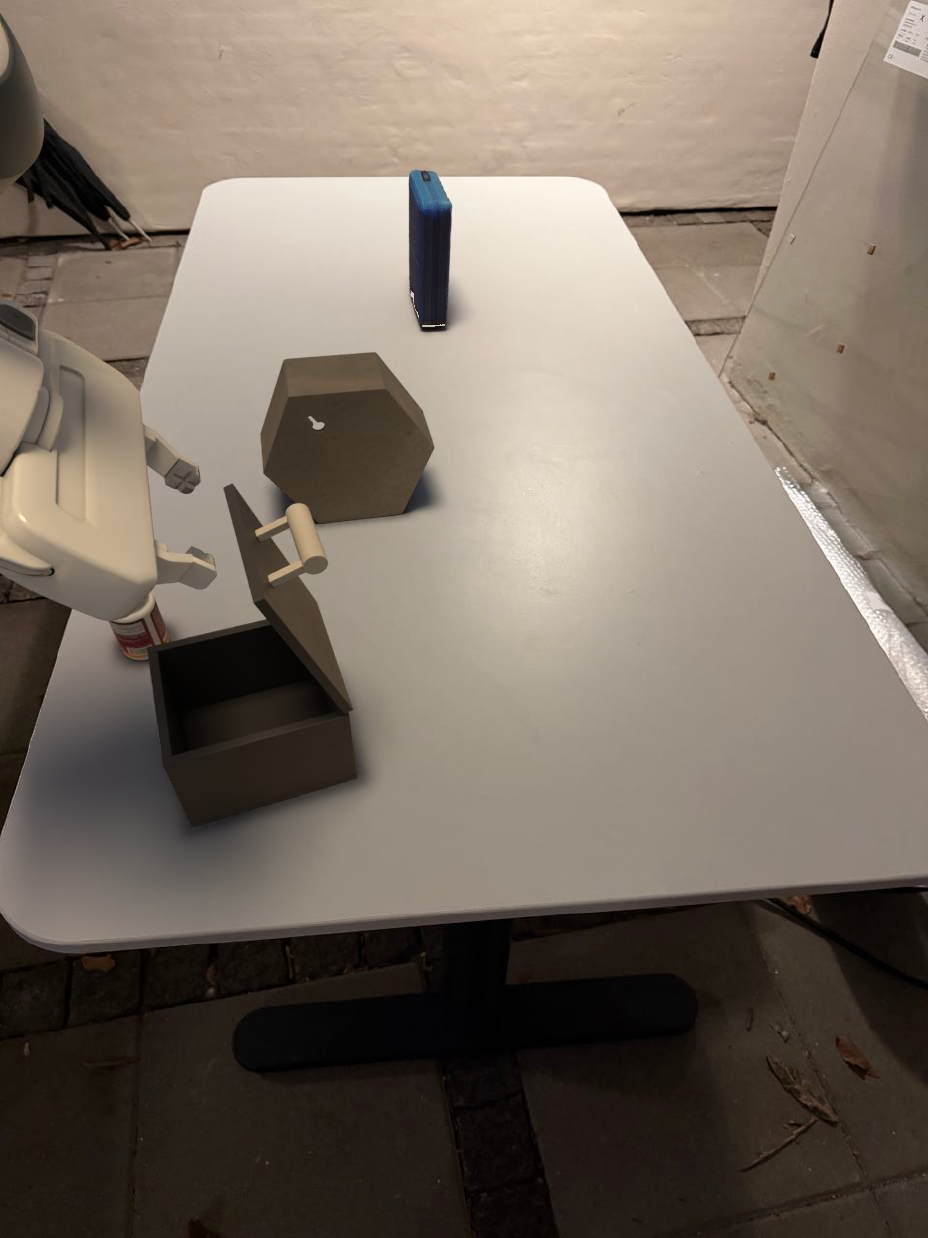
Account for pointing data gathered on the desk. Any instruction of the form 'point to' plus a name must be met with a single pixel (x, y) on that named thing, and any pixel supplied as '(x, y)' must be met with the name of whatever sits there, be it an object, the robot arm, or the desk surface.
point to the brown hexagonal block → (344, 437)
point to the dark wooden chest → (244, 722)
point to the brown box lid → (288, 587)
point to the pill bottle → (140, 629)
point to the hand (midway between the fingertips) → (202, 525)
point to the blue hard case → (429, 246)
